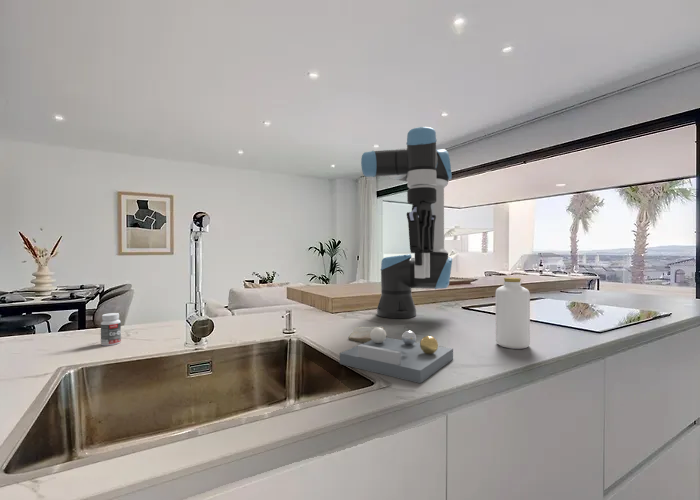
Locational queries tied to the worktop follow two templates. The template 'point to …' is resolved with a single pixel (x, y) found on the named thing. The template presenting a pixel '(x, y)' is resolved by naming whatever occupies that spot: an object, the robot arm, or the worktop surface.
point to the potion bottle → (513, 314)
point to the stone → (362, 334)
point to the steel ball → (408, 337)
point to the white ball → (378, 335)
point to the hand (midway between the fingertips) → (422, 277)
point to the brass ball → (429, 345)
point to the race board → (396, 359)
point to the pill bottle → (110, 329)
